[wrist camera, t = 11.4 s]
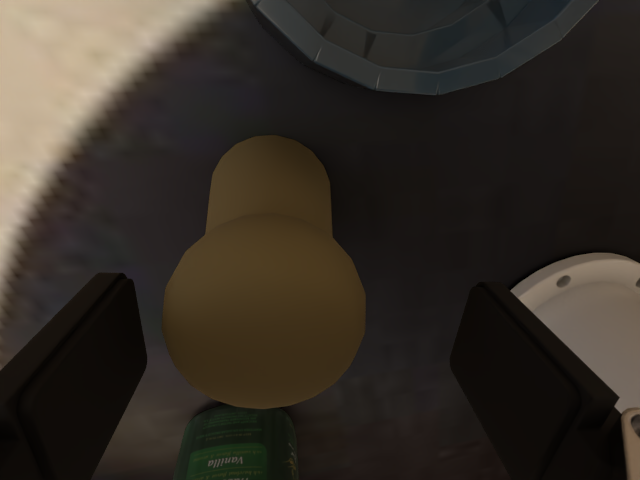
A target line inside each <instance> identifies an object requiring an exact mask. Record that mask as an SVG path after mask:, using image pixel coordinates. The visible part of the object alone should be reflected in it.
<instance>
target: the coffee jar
mask: <svg viewBox="0 0 640 480" xmlns="http://www.w3.org/2000/svg"><path fill="white" fill-rule="evenodd" d="M173 480H299V474H298V457H297V442H296V433H295V429H294V425H293V422H292V420H291V418H290V417H289V415H288V414H287V413H286V412H285V411H284V410H282V409H279V408H277V407H276V408H268V409H256V408H244V407H236V406H233V405H229V404H225V405H221V406H218V407H215V408H212V409H209V410H206V411H204V412H202V413H200V414H198V415H197V416H195V417H194V418H193V419H192V420H191V421H190V422H189V423H188V425H187V427H186V429H185V432H184V436H183V439H182V444H181V448H180V452H179V456H178V460H177V464H176V468H175V472H174V477H173Z"/></svg>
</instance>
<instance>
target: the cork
mask: <svg viewBox="0 0 640 480" xmlns="http://www.w3.org/2000/svg"><path fill="white" fill-rule="evenodd" d="M365 303H366V294H365V292H364V289H363V286H362V284H361V281H360V279H359V276H358V273H357V271H356V268H355V266H354V264H353V261H352V259H351V258H350V257H349V255H348V254H347V253H346V252H345V251H344V250H343V249H342V248H341V246H340V245H339V244H338V243H337V242H336V241H335V240H334V239H333V237H332V214H331V192H330V181H329V179H328V176H327V173H326V171H325V168H324V165H323V164H322V163H321V162H320V161H319V159H318V158H317V157H316V156H315V154H314V153H313V152H312V151H311V150H310V149H308V148H306V147H305V146H303V145H302V144H300V143H299V142H297V141H296V140H293V139H289V138H285V137H281V136H278V135H267V136H254V137H252V138H249V139H247V140H245V141H242V142H240V143H237V144H236V145H235V146H233V147H232V148H231V149H230V150H229V151H228V152H227V153H226V154H224V155H223V156H222V157H221V159H220V161H219V163H218V165H217V167H216V168H215V170H214V172H213V175H212V182H211V188H210V196H209V205H208V214H207V223H206V232H205V235H204V236H203V237H202V238H201V239H200V240H198V241H197V242H196V243H195V244H194V245H192V246H191V247H190V248H189V249H188V250H187V251H186V252H185V254H184V255H183V257H182V259H181V261H180V263H179V264H178V266H177V268H176V270H175V271H174V273H173V275H172V277H171V279H170V281H169V282H168V284H167V286H166V288H165V296H164V306H163V315H162V333H163V336H164V339H165V342H166V345H167V349H168V352H169V355H170V357H171V359H172V361H173V363H174V365H175V367H176V368H177V369H178V370H179V372H180V373H181V374H182V375H183V376H184V378H185V379H186V380H187V381H188V383H189V384H190V385H191V386H193V387H194V388H196V389H197V390H199V391H200V392H202V393H204V394H205V395H207V396H208V397H210V398H211V399H214V400H217V401H220V402H223V403H226V404H229V405H233V406H236V407H244V408H256V409H268V408H276V407H284V406H290V405H293V404H296V403H299V402H301V401H304V400H307V399H310V398H313V397H315V396H316V395H318V394H319V393H321V392H322V391H324V390H325V389H327V388H329V387H330V386H332V385H333V384H335V382H336V381H337V380H338V379H339V378H340V377H341V376H342V374H343V373H344V372H345V371H346V370H347V369H348V368H349V366H350V365H351V363H352V361H353V359H354V357H355V355H356V353H357V350H358V348H359V346H360V343H361V341H362V338H363V336H364V334H365Z"/></svg>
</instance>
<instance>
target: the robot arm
mask: <svg viewBox="0 0 640 480" xmlns="http://www.w3.org/2000/svg"><path fill="white" fill-rule="evenodd" d="M146 365H147V354H146V348H145V342H144V337H143V331H142V326H141V320H140V315H139V309H138V303H137V298H136V292H135V287H134V282H133V280H132V279H127V277H126V275H125V274H123V273H98V274H96V275H95V276H94V277H93V278H92V279H91V280H90V281H89V282H88V283H87V284H86V285H85V286H84V287H83V288H82V289H81V290H80V291H79V292H78V293H77V294H76V295H75V296H74V297H73V298H72V299H71V300H70V301H69V302H68V303H67V304H66V305H65V306H64V307H63V308H62V309H61V310H60V311H59V312H58V313H57V314H56V315H55V316H54V317H53V318H52V319H51V320H50V321H49V322H48V323H47V324H46V325H45V326H44V327H43V328H42V329H41V330H40V331H39V332H38V333H37V334H36V335H35V336H34V337H33V338H32V339H31V340H30V341H29V342H28V344H27V345H26V346H25V347H24V348H23V349H22V350H21V351H20V352H19V353H18V354H17V355H16V356H15V357H14V358H13V359H12V360H11V361H10V362H9V363H8V364H7V365H6V366H5V367H4V368H3V369H2V370H1V371H0V480H90V479H91V477H92V475H93V473H94V471H95V469H96V467H97V465H98V463H99V461H100V459H101V457H102V455H103V453H104V451H105V449H106V447H107V445H108V443H109V441H110V439H111V437H112V435H113V433H114V431H115V429H116V427H117V425H118V423H119V421H120V419H121V417H122V416H123V414H124V412H125V410H126V408H127V406H128V404H129V402H130V400H131V398H132V396H133V394H134V392H135V390H136V388H137V386H138V384H139V382H140V380H141V378H142V376H143V374H144V371H145V369H146ZM450 367H451V370H452V372H453V374H454V375H455V377H456V379H457V381H458V383H459V385H460V386H461V388H462V390H463V392H464V394H465V396H466V397H467V399H468V401H469V403H470V405H471V406H472V408H473V410H474V412H475V414H476V416H477V417H478V419H479V421H480V423H481V425H482V427H483V428H484V430H485V432H486V434H487V436H488V437H489V439H490V441H491V443H492V445H493V447H494V448H495V450H496V452H497V454H498V456H499V457H500V459H501V461H502V463H503V465H504V467H505V468H506V470H507V472H508V474H509V476H510V478H511V479H512V480H640V263H638V262H636V261H634V260H632V259H630V258H628V257H626V256H622V255H617V254H613V253H589V254H583V255H577V256H573V257H570V258H567V259H564V260H560V261H557V262H555V263H553V264H551V265H548V266H546V267H544V268H542V269H540V270H538V271H536V272H535V273H533V274H532V275H530V276H529V277H527V278H526V279H524V280H523V281H521V282H520V283H518V284H517V285H516V286H515V287H514V288H513V289H511V290H509V289H508V288H507V287H506V286H505V285H504V284H502V283H500V282H479V283H478V284H477V285H476V287H473V288H472V289H471V290H470V293H469V296H468V300H467V303H466V306H465V310H464V313H463V316H462V319H461V323H460V326H459V329H458V333H457V336H456V339H455V342H454V346H453V349H452V352H451V356H450Z"/></svg>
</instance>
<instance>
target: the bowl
mask: <svg viewBox="0 0 640 480" xmlns="http://www.w3.org/2000/svg"><path fill="white" fill-rule="evenodd" d="M598 1H599V0H246V2H247V3H248V5H249V7H250V9H251V10H252V12H253V14H254V15H255V17H256V19H257V20H258V22H259V24H260V25H261V26H262V28H263V29H264V30H265V31H267V32H268V33H269V34H270V35H271V36H272V37H273V38H274V39H275V40H276V41H277V42H278V43H279V44H280V45H281V46H283V47H284V48H285V49H286V50H287V51H288V52H289V53H290V54H291V55H292V56H293V57H294V58H295V59H296V60H297V61H299V62H300V63H301V64H302V63H303V65H304V66H306V67H308V68H311V69H313V70H315V71H317V72H319V73H322V74H324V75H326V76H328V77H330V78H332V79H335V80H337V81H339V82H341V83H343V84H347V85H350V86H355V87H360V88H364V89H369V90H373V91H379V92H392V93H404V94H417V95H430V96H435V95H443V94H446V93H450V92H454V91H457V90H461V89H465V88H468V87H472V86H476V85H479V84H483V83H487V82H490V81H494V80H497V79H499V78H502V77H504V76H506V75H507V74H509V73H510V72H512V71H513V70H515V69H517V68H518V67H520V66H521V65H523V64H525V63H526V62H528V61H529V60H531V59H532V58H534V57H536V56H537V55H539V54H540V53H542V52H544V51H545V50H547V49H548V48H550V47H551V46H553V45H555V44H556V43H558V42H559V41H561V39H562V38H564V37H565V36H566V35H567V34H568V33H569V32H570V30H571V29H572V28H573V27H574V26H575V25H576V24H577V23H578V22H579V21H580V20H581V19H582V18H583V17H584V16H585V15H586V14H587V13H588V12H589V11H590V10H591V8H592V7H593V6H594V5H595V4H596V3H597V2H598Z"/></svg>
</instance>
